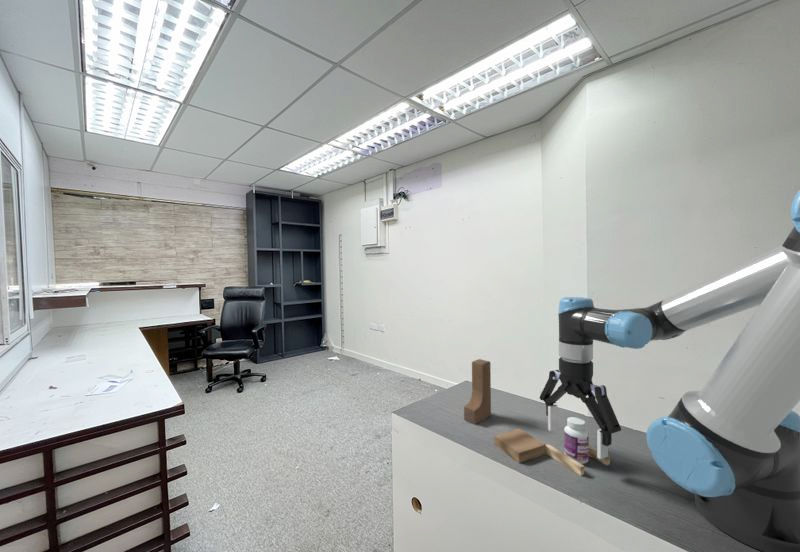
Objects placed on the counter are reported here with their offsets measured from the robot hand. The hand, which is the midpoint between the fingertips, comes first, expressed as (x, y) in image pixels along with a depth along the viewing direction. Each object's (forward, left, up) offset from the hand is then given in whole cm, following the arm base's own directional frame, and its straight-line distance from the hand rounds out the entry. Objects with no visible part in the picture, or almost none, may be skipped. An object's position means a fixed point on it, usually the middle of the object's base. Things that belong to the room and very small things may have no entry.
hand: (575, 442), depth 78 cm
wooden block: (+28, +9, -4) cm, 30 cm away
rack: (0, 0, -4) cm, 4 cm away
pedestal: (+9, +10, -4) cm, 14 cm away
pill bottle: (0, 0, -4) cm, 4 cm away
